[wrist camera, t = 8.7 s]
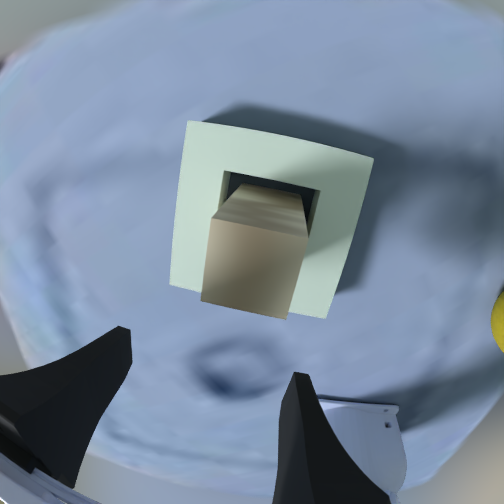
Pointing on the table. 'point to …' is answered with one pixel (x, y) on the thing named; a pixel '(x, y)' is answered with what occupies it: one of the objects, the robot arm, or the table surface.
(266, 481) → the table surface
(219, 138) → the socket block
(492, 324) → the lemon
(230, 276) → the peg
